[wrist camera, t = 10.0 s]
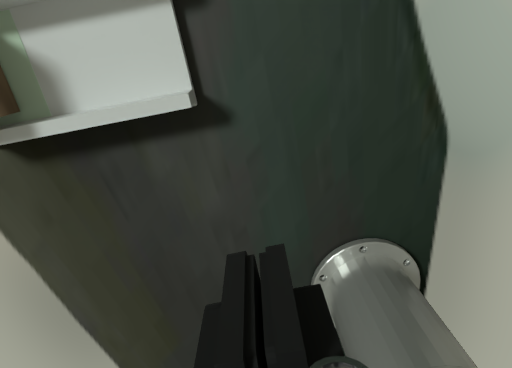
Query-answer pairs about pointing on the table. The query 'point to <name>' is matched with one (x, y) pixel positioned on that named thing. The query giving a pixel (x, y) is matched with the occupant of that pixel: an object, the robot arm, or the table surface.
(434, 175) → the table surface
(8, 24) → the chute
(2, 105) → the walnut block
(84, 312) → the table surface
